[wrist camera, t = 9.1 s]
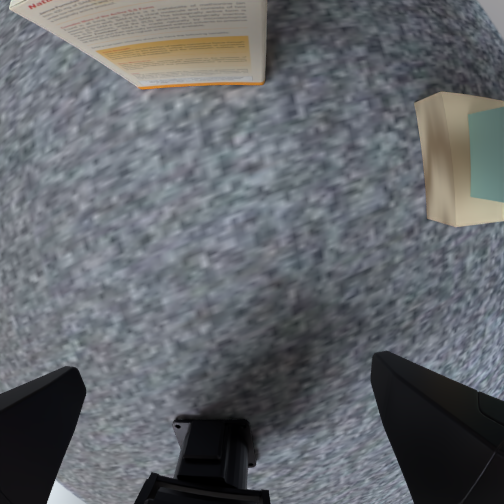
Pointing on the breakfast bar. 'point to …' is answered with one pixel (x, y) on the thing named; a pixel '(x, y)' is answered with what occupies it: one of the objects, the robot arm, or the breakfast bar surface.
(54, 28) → the supplement box
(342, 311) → the breakfast bar surface
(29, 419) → the robot arm
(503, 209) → the beech block
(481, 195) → the teal cube
